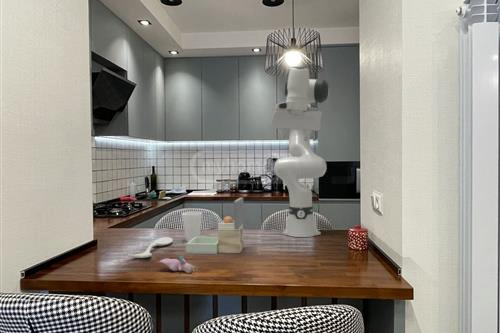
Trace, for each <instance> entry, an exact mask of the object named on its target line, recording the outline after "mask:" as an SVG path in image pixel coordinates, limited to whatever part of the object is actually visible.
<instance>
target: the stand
mask: <svg viewBox="0 0 500 333" xmlns="http://www.w3.org/2000/svg"><path fill="white" fill-rule="evenodd" d="M217 237H218V253H220V254H221V253H222V254H241V253H242V251H243V249H244V226H243V227H242V228H241V229H240V230H218V231H217ZM218 253H217V254H218Z"/></svg>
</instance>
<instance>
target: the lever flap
mask: <svg viewBox="0 0 500 333" xmlns="http://www.w3.org/2000/svg"><path fill="white" fill-rule="evenodd" d="M244 208H245V207H244V197H239V198H237V199H235V200H234V201H233V218H234V219H233V223H224V220H221V222H218V224H217V225H218V228H217V230H218V231H219V230H240V229H241V228H242V227H243V228H244V226H243V225H244V224H245V218H244V217H245V214H244V213H245V212H244V211H245V210H244Z"/></svg>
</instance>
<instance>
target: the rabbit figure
mask: <svg viewBox="0 0 500 333" xmlns="http://www.w3.org/2000/svg"><path fill="white" fill-rule="evenodd" d="M158 263H162V264H163V265H165V266H167V267H168V268H169V269H170V270H171V271H174V272H177V271H183V272H185V273H187V274H191V273H192V274H193V275H194V273H195V272H196V271H199V267H198V266H197V265H192V264H191V263H189V262H187V260H185V258H184V255H180V256H179V259H177V258H172V259H171V258H168V257H167V258H163V259H161V260H158ZM181 263H184V264H181ZM195 268H196V271H195Z"/></svg>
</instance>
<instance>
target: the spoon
mask: <svg viewBox="0 0 500 333" xmlns="http://www.w3.org/2000/svg"><path fill="white" fill-rule="evenodd" d="M173 241H174V239H173V238H172V237H169V236H165V237H159V238H157V239H154V240H153V241H152V242H151V243H150V244H149V246H148V247H147V248H146V249H145V251H143V252H141V253H140V252H139V253H134V254H133V253H129V254H127V258H129V257H131V258H136V259H139V258H140V259H147V258H150V257H151V256H152V255H153V254H152V252H151V249H152V248H153V247H157V246H158V247H164V246H166V245H170V244H171V243H172V242H173Z"/></svg>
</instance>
